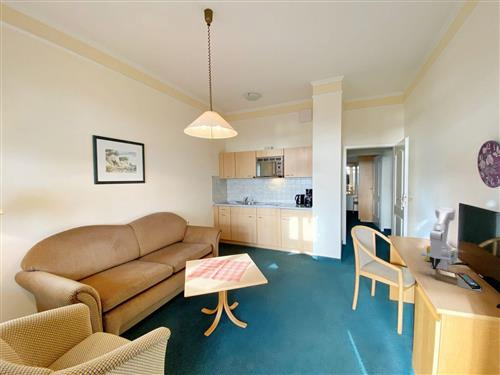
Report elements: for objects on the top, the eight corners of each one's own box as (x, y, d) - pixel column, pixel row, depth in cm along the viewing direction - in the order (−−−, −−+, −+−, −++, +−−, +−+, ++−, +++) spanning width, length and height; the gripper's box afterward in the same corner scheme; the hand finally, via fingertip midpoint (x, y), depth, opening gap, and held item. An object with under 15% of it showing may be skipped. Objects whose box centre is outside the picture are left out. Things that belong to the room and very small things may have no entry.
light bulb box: (450, 264, 155) (451, 250, 154) (439, 261, 161) (440, 247, 160) (457, 262, 159) (458, 248, 158) (446, 259, 165) (447, 246, 164)
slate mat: (456, 278, 134) (457, 278, 134) (478, 284, 128) (478, 284, 128) (458, 286, 125) (458, 285, 125) (481, 292, 119) (481, 292, 119)
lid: (437, 270, 138) (438, 266, 138) (454, 275, 133) (454, 270, 133) (437, 274, 133) (438, 270, 133) (455, 279, 128) (455, 274, 128)
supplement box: (425, 258, 165) (426, 245, 164) (435, 261, 161) (436, 247, 160) (425, 261, 160) (426, 247, 159) (436, 263, 157) (437, 249, 156)
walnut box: (435, 273, 140) (435, 267, 140) (456, 279, 134) (456, 272, 133) (435, 279, 133) (435, 272, 133) (457, 285, 126) (457, 278, 126)
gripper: (421, 247, 138) (419, 267, 139) (451, 253, 128) (449, 274, 129) (421, 245, 143) (420, 264, 144) (451, 250, 133) (449, 271, 134)
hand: (434, 269), depth 137 cm, fingers closed
